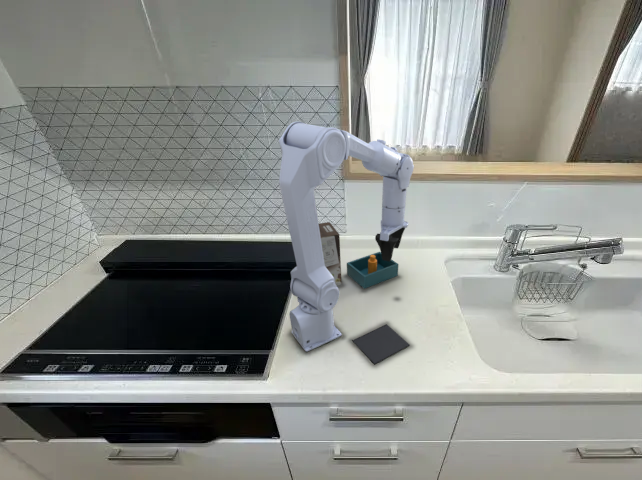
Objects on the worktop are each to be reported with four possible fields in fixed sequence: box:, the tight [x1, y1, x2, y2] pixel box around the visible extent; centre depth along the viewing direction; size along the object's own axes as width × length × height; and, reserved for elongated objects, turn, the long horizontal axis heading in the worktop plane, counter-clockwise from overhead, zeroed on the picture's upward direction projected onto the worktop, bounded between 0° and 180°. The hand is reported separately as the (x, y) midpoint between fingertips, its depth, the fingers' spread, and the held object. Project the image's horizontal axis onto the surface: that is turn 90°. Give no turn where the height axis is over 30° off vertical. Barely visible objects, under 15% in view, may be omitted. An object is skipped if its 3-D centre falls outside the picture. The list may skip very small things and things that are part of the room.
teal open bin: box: [346, 251, 399, 290], centre depth 95 cm, size 12×9×5 cm
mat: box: [351, 323, 411, 366], centre depth 74 cm, size 10×9×1 cm
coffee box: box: [319, 221, 343, 287], centre depth 90 cm, size 9×6×16 cm
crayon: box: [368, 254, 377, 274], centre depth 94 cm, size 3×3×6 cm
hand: (390, 253), depth 87 cm, fingers open, 7 cm apart
